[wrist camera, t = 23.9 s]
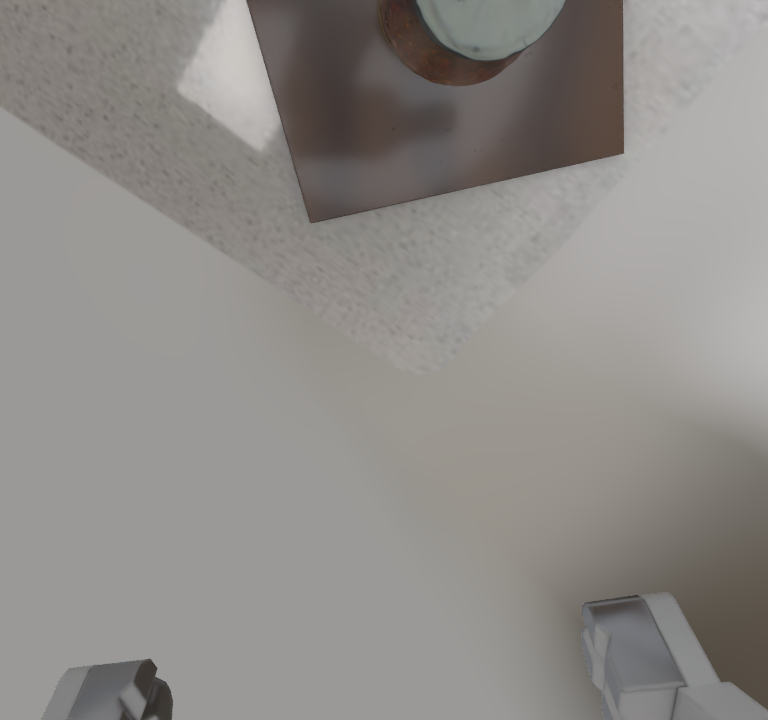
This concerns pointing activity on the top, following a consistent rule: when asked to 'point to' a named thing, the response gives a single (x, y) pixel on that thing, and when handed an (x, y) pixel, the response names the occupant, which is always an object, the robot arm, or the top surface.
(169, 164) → the top surface
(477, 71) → the sauce bottle
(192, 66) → the top surface
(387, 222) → the top surface
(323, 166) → the board
